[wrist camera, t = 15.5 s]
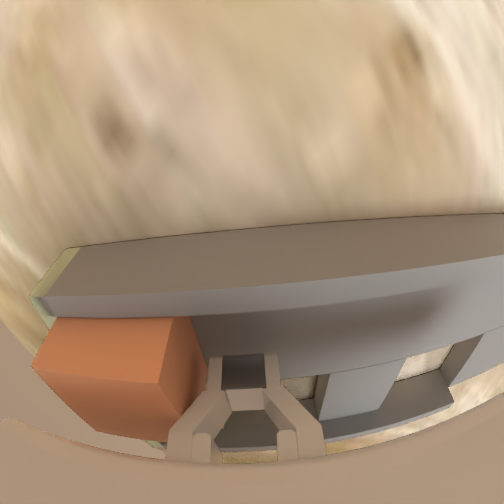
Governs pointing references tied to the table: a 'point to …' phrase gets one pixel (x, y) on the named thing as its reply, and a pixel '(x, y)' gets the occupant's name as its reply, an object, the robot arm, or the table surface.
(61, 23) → the table surface
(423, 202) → the table surface
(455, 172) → the table surface
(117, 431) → the block
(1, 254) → the table surface
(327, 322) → the box
